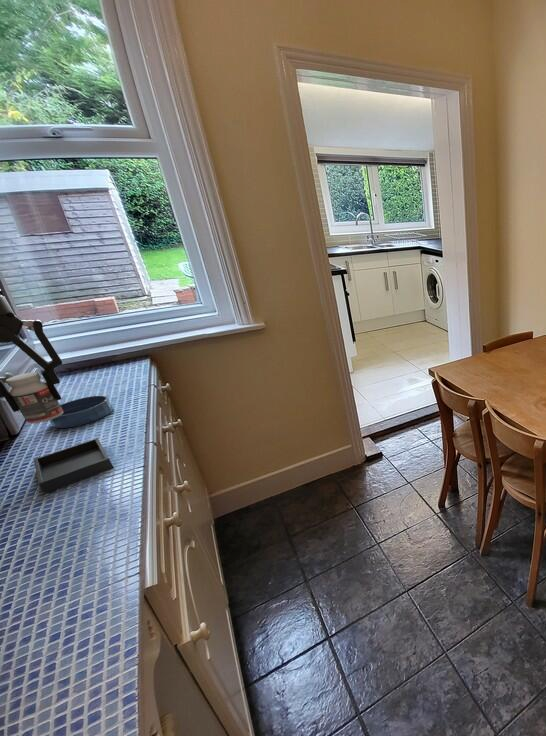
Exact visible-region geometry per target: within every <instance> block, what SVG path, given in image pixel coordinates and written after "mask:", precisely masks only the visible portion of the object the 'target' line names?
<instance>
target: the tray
mask: <svg viewBox="0 0 546 736" xmlns="http://www.w3.org/2000/svg"><path fill="white" fill-rule="evenodd" d="M33 463H34V469H35V473H36V478H37V484H38V485H39V487H40V489H41V490H42V492H43V493H44V494H48V493H51V492H53V491H57V490H58V489H61V488H65V487H67V486H69V485H72V484H75V483H77V482H81V481H83V480H85V479H88V478H91V477H94V476H96V475H98V474H101V473H103V472H106V471H109V470H111V469H115V467H114V465H113V463H112V461H111V459H110V458H109V456H108V454H107V452H106V450H105V449H104V447H103V444H102V443H101V441H100V439H99V437H96V438H94V439H90V440H88V441H85V442H81V443H78V444H75V445H72V446H70V447H66V448H63V449H61V450H58V451H55V452H51V453H49V454H46V455H43V456H39V457H36V458H33Z"/></svg>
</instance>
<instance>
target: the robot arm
mask: <svg viewBox="0 0 546 736" xmlns="http://www.w3.org/2000/svg"><path fill="white" fill-rule="evenodd" d="M1 291H2V289H1V288H0V292H1ZM23 326H25V327H26V328H27V330H28V331H30V332H34V334H35V336H36V338H37V339H38V341H39V342H40V344H41V346H42V347H43V349H44V351H46V353H47V354H48V356H49V358H50V359H51V360H50V361H48V360H47V359H45V358H44V357H43V356H42V355H41V354H39V352H37V351H36V350H35V349H34V348H33V347H32V346H30V345H29V344H28V343H27V342H26V341H25V340H24V339H23V338H21V336H20V335H19V334H20V333H21V330H22V328H23ZM5 343H6V344H8V343H13V344H14V345H15V346H16V347H18V348H19V349H20V351H22V352H23V353H24V354H25V355H27V356H28V357H29V358H30V359H31V360H33V362H35V363H36V364H37V365H38V366H39V367H41V370H40V375H42V377H43V379H44V380H45V381H44V382H45V383H47V384H48V386H49V388H50V389H51V391H52V393H53V394H54V396H55V398H56V400H57V401H60V400H61V401H62V396H61V394H60V393H59V391H58V389H57V387H56V385H58V384H60V383H61V381H60V378H59V377H58V374H57V373H56V371H55V368H57V367H59V366H61V365H63V360H62V359H61V357H60V355H59V354H58V353H57V351H56V349H55V348H54V347H53V346H54V345H52V343H51V341H50V339H49V338H48V337H47V335H46V334H45V332H44V327H43V322H42V320H40V319H38V318H37V319H33V320H32V319H22V318H21V317H19V316H17V315H16V314H15V312H14V310H13V309H12V307H11V305H10V303H9V302H8V300H7V298H6V296H5V295H2V294H0V344H5ZM1 398H4V399H5V401H6V402H7V404H8V405H9V407H10V408H11V411H12V412H13V413H16V412H20V410H19V409H18V407H17V405H16V404H15V402H14V401H13V399H12V397H11V396H10V390H9V389H8V388H7V386H6V384H5V383H4V382H3V380H2V379H0V399H1Z"/></svg>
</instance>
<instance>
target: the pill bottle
mask: <svg viewBox="0 0 546 736" xmlns="http://www.w3.org/2000/svg"><path fill="white" fill-rule="evenodd" d="M41 378H42V377H41V376H40V374H39V373H38V372H37V371H32V372H31V371H30V372H25V373H21V374H17V375H13V376H10V377H8V378H7V379H6V380H5V383H6V384H7V386H8V387H11V389H10V390H9V393H10V396H11V397H12V399H13V401H14V402H15V404H16V405H17V407H18V409H19V412H20V413H21V415H22V417H23V418H24V420H25V421H26V423H28V424H40V423H45V422H49V420H52V419H54V418H57V417H59V416H60V415H62V414H63V409H62V408H61V406H60V405H61V404H60V403H59V400H56V398H55V396H54V394H53V393H52V391H51V389H50V388H49V386H48V384H47V382H46V381H41Z"/></svg>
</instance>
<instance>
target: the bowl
mask: <svg viewBox="0 0 546 736" xmlns="http://www.w3.org/2000/svg"><path fill="white" fill-rule="evenodd" d="M60 406H61V408H62V409H63V414H62V415H60V416H59V417H57V418H54V419H52V420H48V422H49V423H50V424H51V426H52V427H53V428H55V429H69V428H74V427H79V426H84V425H87V424H90V423H93V422H95V421H98V420H100V419H102V418H104V417H106V416H108V415H109V414H111V413H112V412H113V410H114V408H113V406H112V404H111V402H110V400H109V398H108V397H107V395H106V396H105V395H91V396H86V397H81V398H77V399H73V400H70V401H66V402H63V403H61V404H60Z"/></svg>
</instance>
